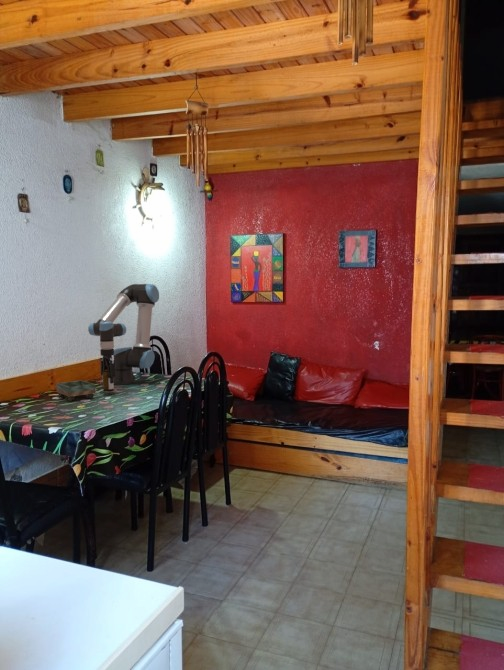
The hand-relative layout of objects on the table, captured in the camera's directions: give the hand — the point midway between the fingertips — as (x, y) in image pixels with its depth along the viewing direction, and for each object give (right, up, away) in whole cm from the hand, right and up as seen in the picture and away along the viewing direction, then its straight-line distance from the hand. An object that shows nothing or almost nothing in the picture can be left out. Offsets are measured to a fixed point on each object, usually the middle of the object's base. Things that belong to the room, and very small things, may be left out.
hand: (108, 387), depth 308 cm
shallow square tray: (-16, -5, -10) cm, 19 cm away
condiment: (0, -2, -1) cm, 2 cm away
